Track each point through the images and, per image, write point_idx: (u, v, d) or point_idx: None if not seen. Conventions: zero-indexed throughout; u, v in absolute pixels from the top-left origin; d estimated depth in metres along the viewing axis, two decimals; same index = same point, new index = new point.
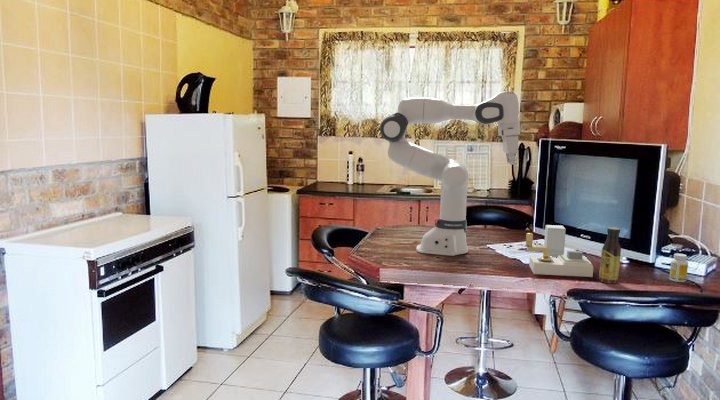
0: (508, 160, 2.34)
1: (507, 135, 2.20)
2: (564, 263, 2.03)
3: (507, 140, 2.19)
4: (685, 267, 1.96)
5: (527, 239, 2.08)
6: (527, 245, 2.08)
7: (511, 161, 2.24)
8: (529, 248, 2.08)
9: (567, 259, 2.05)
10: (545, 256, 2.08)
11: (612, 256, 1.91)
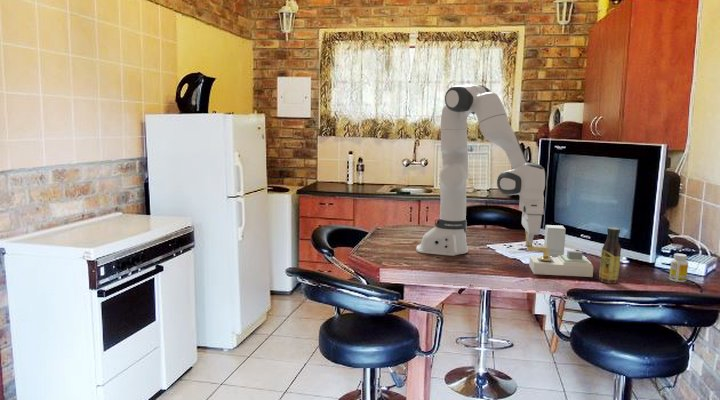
0: None
1: (529, 213, 1.99)
2: (564, 263, 2.03)
3: (529, 219, 1.98)
4: (685, 267, 1.96)
5: None
6: (527, 245, 2.08)
7: (529, 239, 2.06)
8: (529, 248, 2.08)
9: (567, 259, 2.05)
10: (545, 256, 2.08)
11: (612, 256, 1.91)
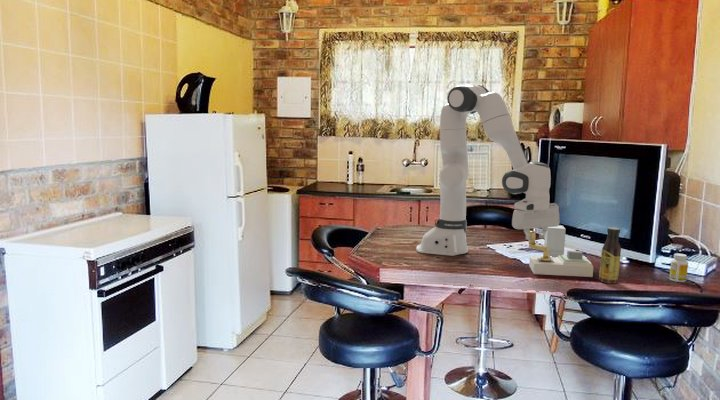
0: (539, 235, 2.14)
1: (516, 208, 2.10)
2: (564, 263, 2.03)
3: (513, 213, 2.10)
4: (685, 267, 1.96)
5: None
6: (529, 242, 2.13)
7: (526, 236, 2.12)
8: (530, 245, 2.13)
9: (567, 259, 2.05)
10: (543, 256, 2.08)
11: (612, 256, 1.91)
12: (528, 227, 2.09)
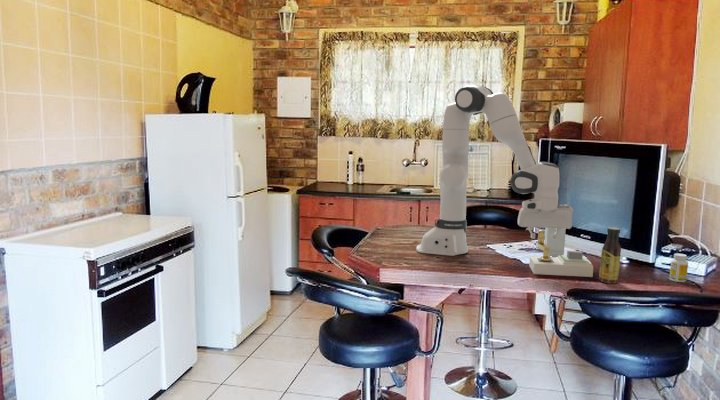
0: (552, 236, 2.14)
1: (522, 206, 2.15)
2: (564, 263, 2.03)
3: (519, 211, 2.16)
4: (685, 267, 1.96)
5: None
6: None
7: (531, 234, 2.15)
8: (538, 244, 2.15)
9: (567, 259, 2.05)
10: (543, 255, 2.09)
11: (612, 256, 1.91)
12: (532, 226, 2.12)
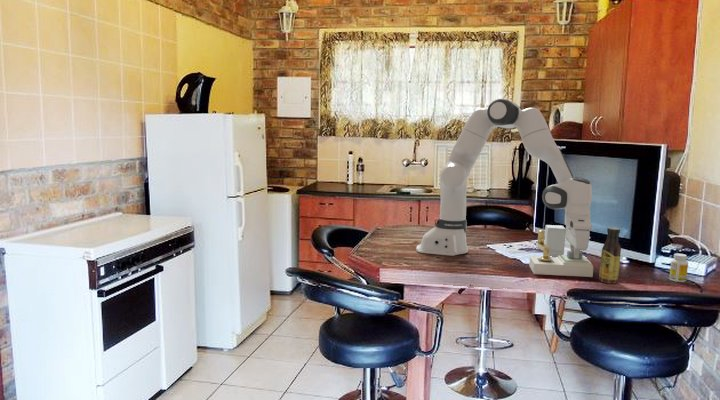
0: None
1: (577, 229, 1.97)
2: (564, 263, 2.03)
3: (577, 234, 1.97)
4: (685, 267, 1.96)
5: None
6: None
7: (575, 254, 2.04)
8: (538, 244, 2.15)
9: (567, 259, 2.05)
10: (543, 255, 2.09)
11: (612, 256, 1.91)
12: None
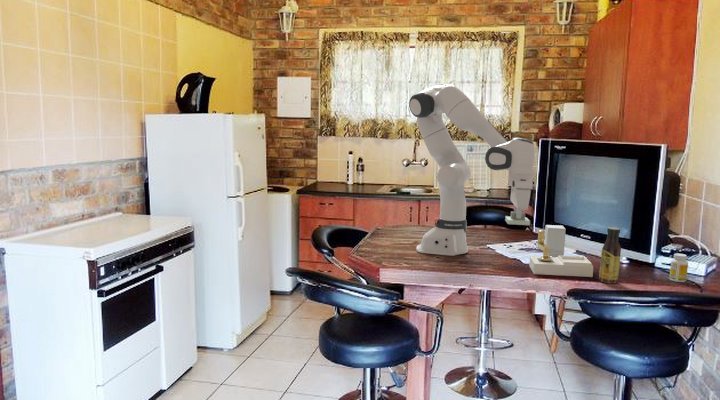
0: None
1: (518, 188, 1.98)
2: (564, 263, 2.03)
3: (518, 193, 1.97)
4: (685, 267, 1.96)
5: None
6: None
7: (518, 214, 2.05)
8: (538, 244, 2.15)
9: (510, 219, 2.06)
10: (543, 255, 2.09)
11: (612, 256, 1.91)
12: None
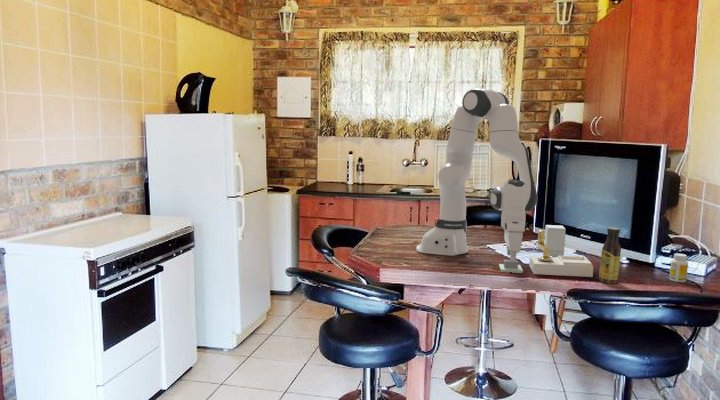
0: (509, 252, 2.14)
1: (511, 231, 2.00)
2: (564, 263, 2.03)
3: (510, 236, 1.99)
4: (685, 267, 1.96)
5: None
6: None
7: (512, 258, 2.04)
8: (538, 244, 2.15)
9: (503, 268, 2.08)
10: (543, 255, 2.09)
11: (612, 256, 1.91)
12: None
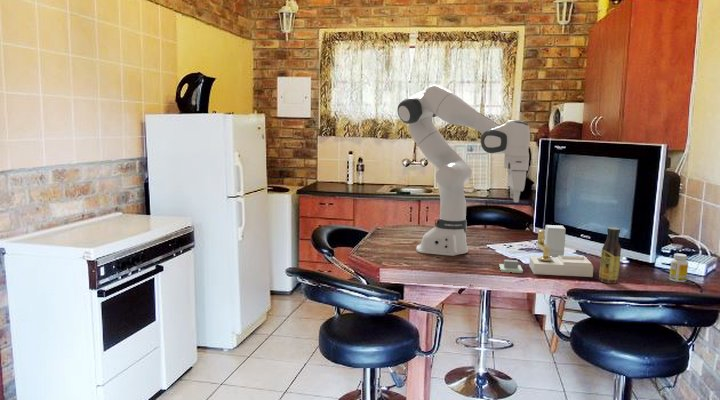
0: (512, 195, 2.10)
1: (514, 169, 1.96)
2: (564, 263, 2.03)
3: (513, 175, 1.96)
4: (685, 267, 1.96)
5: None
6: None
7: (515, 198, 2.01)
8: (538, 244, 2.15)
9: (503, 268, 2.08)
10: (543, 255, 2.09)
11: (612, 256, 1.91)
12: None
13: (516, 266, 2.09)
